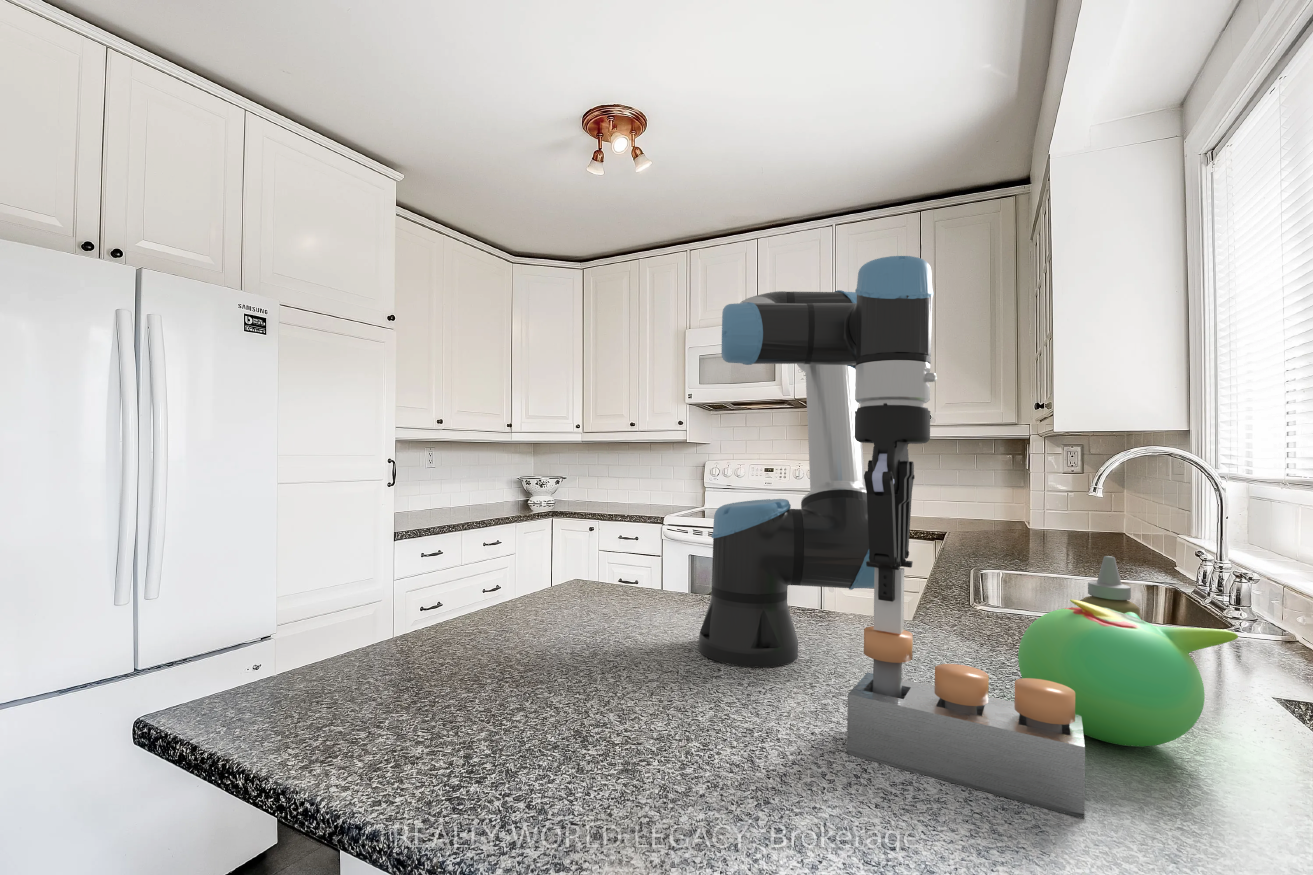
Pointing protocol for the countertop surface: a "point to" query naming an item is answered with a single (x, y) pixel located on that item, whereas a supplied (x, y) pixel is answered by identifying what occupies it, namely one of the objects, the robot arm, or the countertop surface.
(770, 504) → the robot arm
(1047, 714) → the knob
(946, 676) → the knob middle
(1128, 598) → the squeeze bottle
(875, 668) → the knob
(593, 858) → the countertop surface
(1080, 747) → the mount
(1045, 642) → the toy bird
